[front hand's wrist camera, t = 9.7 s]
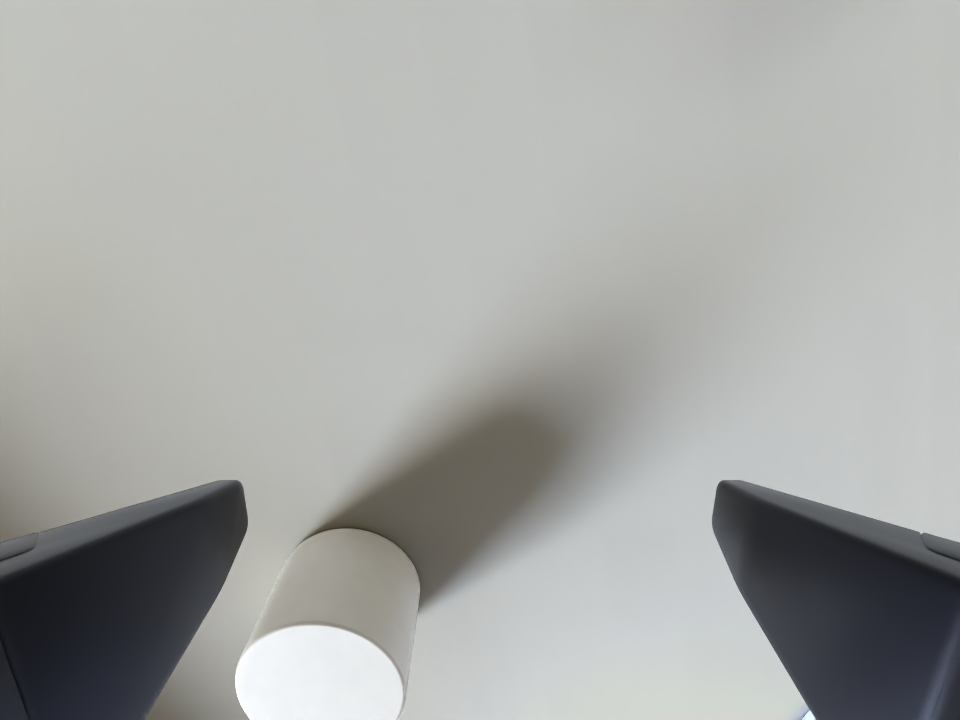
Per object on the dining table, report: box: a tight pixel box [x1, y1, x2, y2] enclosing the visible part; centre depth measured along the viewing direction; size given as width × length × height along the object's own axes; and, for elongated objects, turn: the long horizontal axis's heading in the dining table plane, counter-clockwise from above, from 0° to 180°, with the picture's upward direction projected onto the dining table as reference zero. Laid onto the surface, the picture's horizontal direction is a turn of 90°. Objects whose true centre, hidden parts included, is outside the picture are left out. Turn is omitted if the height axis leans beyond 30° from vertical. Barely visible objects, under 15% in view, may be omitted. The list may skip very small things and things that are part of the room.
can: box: [235, 528, 420, 720], centre depth 19 cm, size 5×5×4 cm
